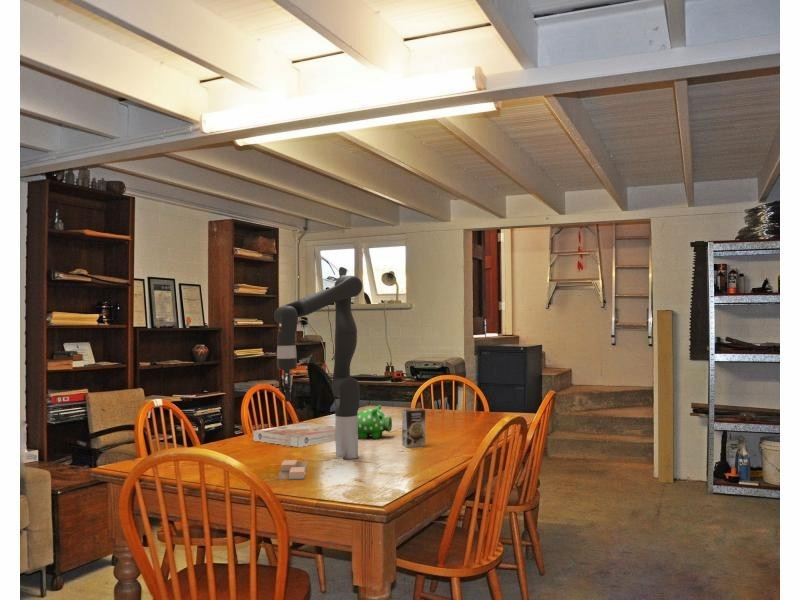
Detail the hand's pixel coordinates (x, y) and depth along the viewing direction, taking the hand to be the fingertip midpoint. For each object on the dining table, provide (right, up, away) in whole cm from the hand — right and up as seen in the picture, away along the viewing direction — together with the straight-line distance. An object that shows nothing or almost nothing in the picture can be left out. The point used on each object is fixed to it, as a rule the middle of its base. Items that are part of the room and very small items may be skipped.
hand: (287, 401), depth 264 cm
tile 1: (+2, -23, -8) cm, 24 cm away
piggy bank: (+30, -27, +63) cm, 75 cm away
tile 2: (+7, -22, -20) cm, 31 cm away
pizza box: (-4, -28, +61) cm, 67 cm away
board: (+4, -25, -13) cm, 28 cm away
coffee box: (+50, -26, +39) cm, 69 cm away
